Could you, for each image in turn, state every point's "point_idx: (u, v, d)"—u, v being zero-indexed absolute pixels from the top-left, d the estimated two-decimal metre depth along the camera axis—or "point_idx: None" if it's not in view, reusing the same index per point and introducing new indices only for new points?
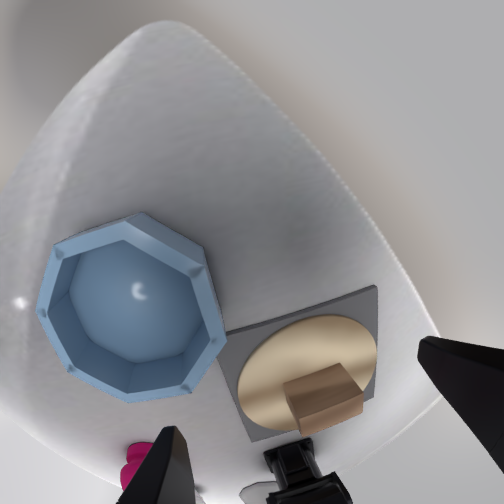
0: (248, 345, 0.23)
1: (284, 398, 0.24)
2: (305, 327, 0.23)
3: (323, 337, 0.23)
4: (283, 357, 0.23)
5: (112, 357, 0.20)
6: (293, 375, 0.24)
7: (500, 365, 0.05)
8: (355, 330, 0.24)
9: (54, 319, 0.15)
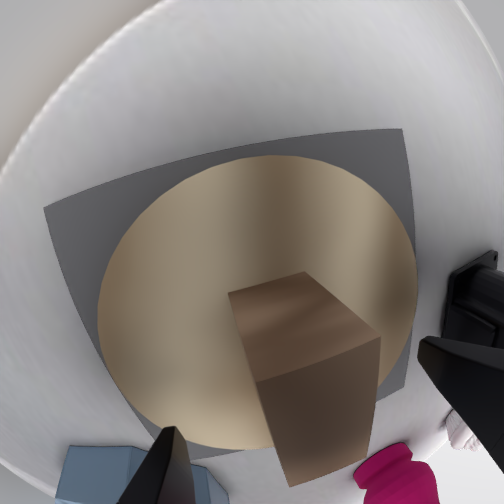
0: None
1: None
2: (124, 382, 0.10)
3: (144, 349, 0.10)
4: (193, 410, 0.11)
5: None
6: (244, 388, 0.11)
7: (500, 365, 0.05)
8: (128, 267, 0.09)
9: None
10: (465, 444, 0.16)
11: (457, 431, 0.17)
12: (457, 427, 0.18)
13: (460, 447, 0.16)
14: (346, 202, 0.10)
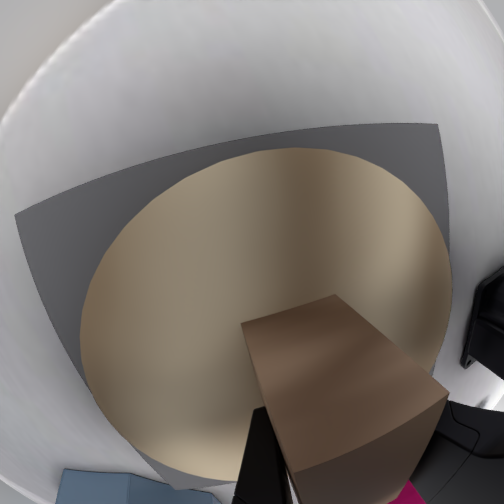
0: None
1: None
2: (118, 419, 0.08)
3: (138, 387, 0.08)
4: (198, 447, 0.09)
5: None
6: None
7: None
8: (113, 292, 0.07)
9: None
10: None
11: None
12: None
13: None
14: (385, 209, 0.08)
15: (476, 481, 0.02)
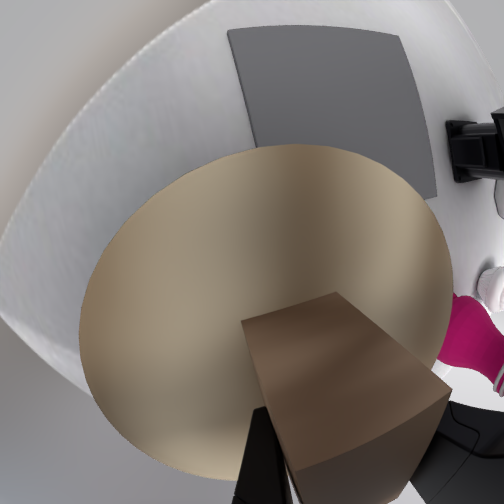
0: None
1: None
2: (117, 418, 0.08)
3: (138, 385, 0.08)
4: (198, 446, 0.09)
5: None
6: None
7: None
8: (113, 289, 0.07)
9: None
10: (500, 299, 0.22)
11: (490, 286, 0.23)
12: (489, 284, 0.23)
13: (497, 303, 0.22)
14: (386, 206, 0.08)
15: (476, 481, 0.02)
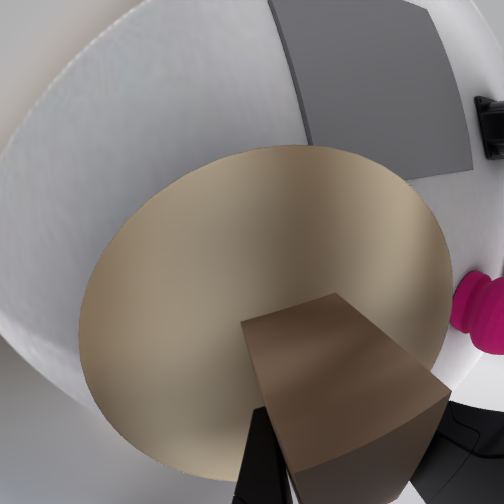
0: (336, 142, 0.14)
1: None
2: (117, 419, 0.08)
3: (137, 386, 0.08)
4: (197, 447, 0.09)
5: None
6: None
7: None
8: (112, 290, 0.07)
9: None
10: None
11: None
12: None
13: None
14: (386, 207, 0.08)
15: (476, 481, 0.02)
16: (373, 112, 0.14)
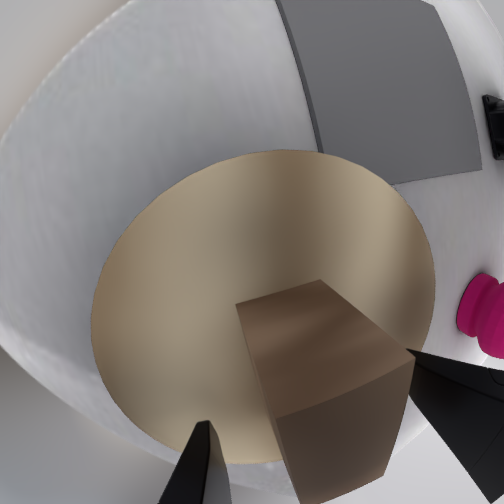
0: (346, 140, 0.14)
1: None
2: (122, 398, 0.09)
3: (143, 365, 0.09)
4: None
5: None
6: (252, 404, 0.10)
7: (480, 384, 0.05)
8: (123, 276, 0.08)
9: None
10: None
11: None
12: None
13: None
14: (365, 203, 0.09)
15: None
16: (383, 109, 0.13)
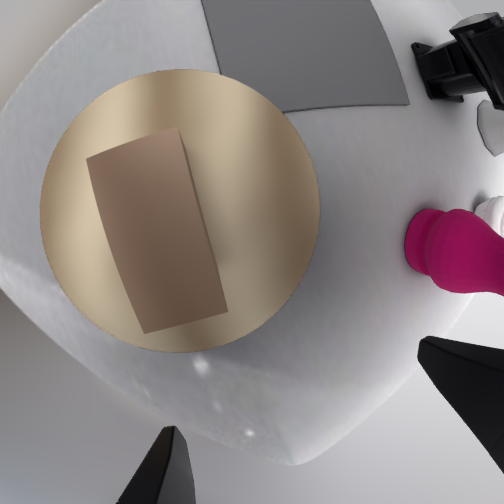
0: (245, 78, 0.16)
1: None
2: (53, 257, 0.12)
3: (68, 221, 0.12)
4: (104, 288, 0.13)
5: None
6: None
7: (500, 365, 0.05)
8: (63, 154, 0.11)
9: None
10: (501, 228, 0.19)
11: (487, 215, 0.21)
12: (486, 214, 0.21)
13: (498, 233, 0.20)
14: (219, 95, 0.12)
15: None
16: (283, 53, 0.16)
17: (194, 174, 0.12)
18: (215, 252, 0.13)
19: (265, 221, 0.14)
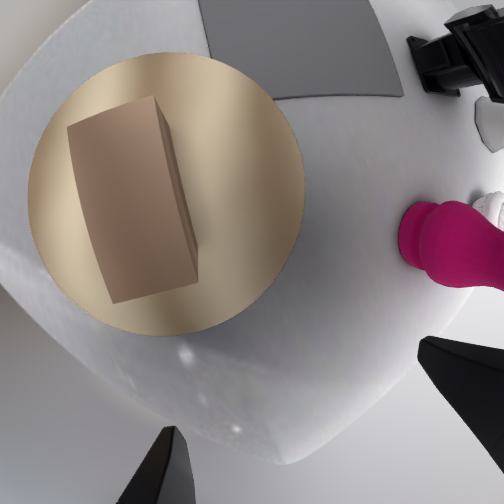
0: (236, 65, 0.16)
1: None
2: (38, 235, 0.11)
3: (54, 199, 0.11)
4: (85, 266, 0.12)
5: None
6: None
7: (500, 365, 0.05)
8: (53, 134, 0.10)
9: None
10: (498, 223, 0.19)
11: (484, 210, 0.21)
12: (483, 210, 0.21)
13: None
14: (205, 77, 0.11)
15: None
16: (275, 42, 0.16)
17: (177, 152, 0.12)
18: (196, 231, 0.13)
19: (248, 201, 0.13)
